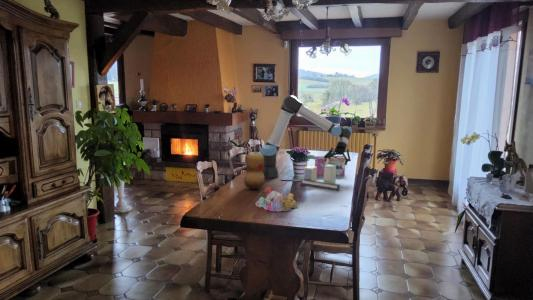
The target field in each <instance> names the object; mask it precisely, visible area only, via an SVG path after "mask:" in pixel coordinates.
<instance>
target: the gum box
mask: <svg viewBox="0 0 533 300" xmlns="http://www.w3.org/2000/svg"><path fill="white" fill-rule="evenodd" d="M324 156H325V155H322V156H315V157H314V166H315V167H317V176H324V166H325V160H326V159H325V157H324ZM344 160H345V158H344V156H343V155H334V156H333V157H331V158H330V159H329V162H328V164H330V165H336V176H338V175H339V176H340V175H346V174H345V172H346V169H345V168H346V167H345V168H344V169H343V168H342V166H343V163H344ZM328 164H327V165H328Z"/></svg>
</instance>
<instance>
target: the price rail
mask: <svg viewBox="0 0 533 300" xmlns="http://www.w3.org/2000/svg"><path fill="white" fill-rule="evenodd" d="M300 186H306V187H312V188H317V189H323V190H324V189H325V190H329V191H335V190H336V192H339V191H340V189H341V187H340V184H338V183H334V182H333V183H327V182H324V181H319V180H317V181H314V180H307V179H304V178H301V179H300Z"/></svg>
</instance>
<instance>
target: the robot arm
mask: <svg viewBox="0 0 533 300" xmlns="http://www.w3.org/2000/svg"><path fill="white" fill-rule="evenodd" d="M294 115H299V116H301V118H305V119H306V120H308V121H309V122H311V123H312V124H314V125H316V126H317V127H319V128H321V129H322V130H323V131H326V132H327V133H329V134H330V135H332V136H333V137H338V141H337V143H336V146H335V148H334V147H331V149H330V150H329V151H328V152H327V153H326V154H325V155H323V156H324V157H325V159H326V160H325V166H326V165H327V164H328V162H329V159H330V158H331V157H333V156H343V157H344V158H345V160H344V163H343V166H342V168H343V169H344V168H346V166H347V165H348V162H351V157H350V149H349V148H347V146H348V144H349V142H350V138H351V136H352V133H353V132H352V131H353V129H352V127H351V126H347V125H346V126H340V125H338V124H336V123H334V122H332V121H330V120H328V119H327V118H326V117H324V116H322V115H320V114H319V113H317V112H315V111H314V110H313V109H311V108H309V107H307V106H305V104H304V103H303V102H302V101H300V100H299V99H298V97H297V96H296V95H294V94H288V95H286V96H285V97H284V99H283V101H282V104H281V107H280V114H279V117H278V118H277V121H276V123H275V125H274V128H273V129H272V132H271V135H270V138H269V139H268V140H266V142H265V145H263V146H261V149H260V153H261V154H263V156H264V168H263V174H264V179H267V180H269V179H270V180H271V179H272V180H273V179H277V178H279V171H278V168H277V156H278V153H279V151H280V149H281V141H282V139H283V137H284V134H285V132H286V129H287V128H288V127H287V126H288V125H289V124H290V120H291V117H292V116H294ZM345 153H346V155H345Z"/></svg>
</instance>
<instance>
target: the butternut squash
mask: <svg viewBox="0 0 533 300" xmlns="http://www.w3.org/2000/svg"><path fill="white" fill-rule="evenodd" d="M245 166H246V167H245V168H246V172H245V175H244V179H243V181H244V182H243V183H244V185H245V187H246V188H248V189H250V190H258V189H261V187H263V186H264V183H265V178H264V174H263V168H264V156H263V154H261V152H259V151H251V152H249V153H248V154H247V156H246V161H245Z"/></svg>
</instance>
